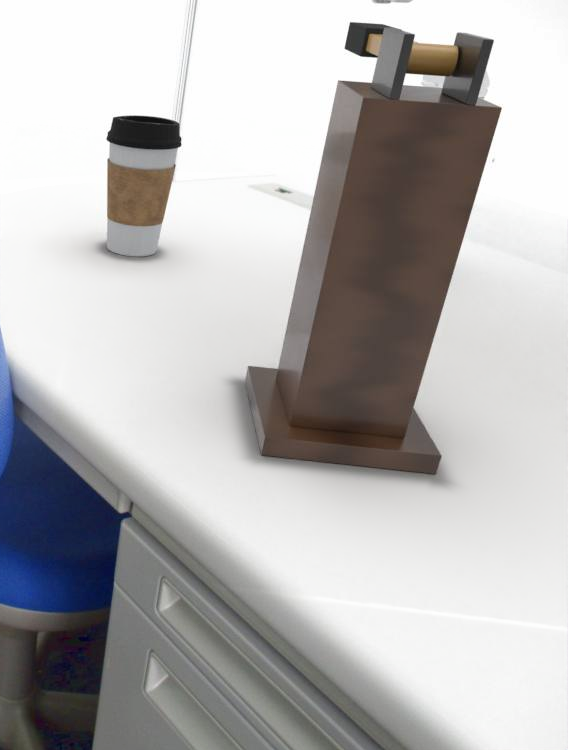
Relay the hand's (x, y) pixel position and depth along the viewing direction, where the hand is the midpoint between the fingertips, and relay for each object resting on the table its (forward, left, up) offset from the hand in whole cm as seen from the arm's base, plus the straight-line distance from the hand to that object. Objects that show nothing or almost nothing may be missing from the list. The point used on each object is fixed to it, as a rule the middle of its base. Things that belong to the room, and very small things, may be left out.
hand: (390, 3), depth 77 cm
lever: (+4, +20, -3) cm, 20 cm away
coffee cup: (+20, -12, -28) cm, 37 cm away
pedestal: (+4, +28, -28) cm, 40 cm away
